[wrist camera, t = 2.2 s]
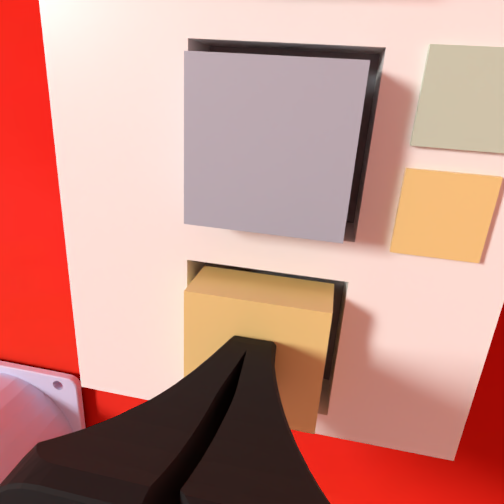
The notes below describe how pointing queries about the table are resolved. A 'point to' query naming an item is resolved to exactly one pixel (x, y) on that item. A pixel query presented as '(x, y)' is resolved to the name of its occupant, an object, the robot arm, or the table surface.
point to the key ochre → (264, 329)
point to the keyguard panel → (281, 247)
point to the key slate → (271, 142)
